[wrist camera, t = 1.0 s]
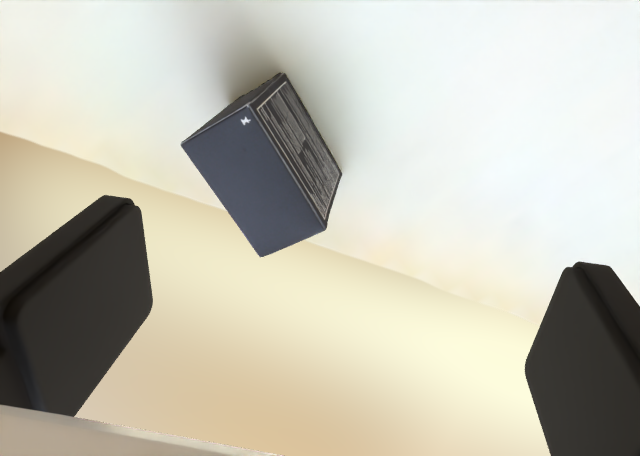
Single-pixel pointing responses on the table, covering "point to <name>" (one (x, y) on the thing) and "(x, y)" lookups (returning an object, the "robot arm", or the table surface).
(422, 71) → the table surface
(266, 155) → the small box
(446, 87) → the table surface
